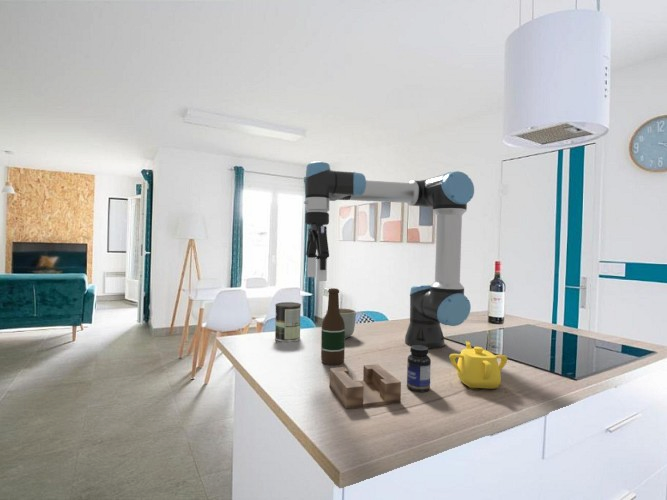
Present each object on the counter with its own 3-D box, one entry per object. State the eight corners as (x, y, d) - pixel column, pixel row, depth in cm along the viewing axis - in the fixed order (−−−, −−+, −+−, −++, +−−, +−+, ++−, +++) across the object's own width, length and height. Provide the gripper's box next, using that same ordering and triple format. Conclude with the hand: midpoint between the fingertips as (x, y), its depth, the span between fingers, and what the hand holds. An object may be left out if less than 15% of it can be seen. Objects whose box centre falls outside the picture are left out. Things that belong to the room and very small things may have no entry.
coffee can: (271, 341, 144) (272, 305, 144) (279, 335, 154) (279, 301, 154) (297, 342, 143) (297, 306, 143) (302, 336, 153) (303, 302, 153)
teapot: (441, 381, 104) (442, 345, 104) (465, 371, 112) (466, 338, 112) (488, 397, 93) (489, 357, 93) (511, 385, 102) (512, 348, 101)
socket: (377, 381, 103) (377, 364, 103) (400, 402, 89) (400, 382, 89) (329, 386, 98) (329, 368, 98) (346, 409, 85) (346, 387, 85)
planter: (324, 333, 159) (325, 308, 158) (352, 333, 160) (353, 308, 160) (327, 340, 146) (327, 313, 146) (357, 340, 148) (358, 313, 148)
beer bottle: (342, 366, 115) (343, 290, 115) (318, 364, 117) (319, 289, 116) (346, 359, 123) (347, 287, 122) (323, 357, 124) (324, 287, 124)
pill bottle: (402, 385, 100) (403, 345, 100) (420, 382, 103) (421, 343, 102) (415, 394, 95) (416, 351, 94) (435, 390, 97) (435, 349, 97)
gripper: (298, 214, 127) (297, 275, 127) (315, 207, 103) (314, 283, 103) (319, 215, 129) (318, 275, 129) (340, 208, 105) (339, 282, 105)
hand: (316, 279), depth 116 cm, fingers open, 13 cm apart
